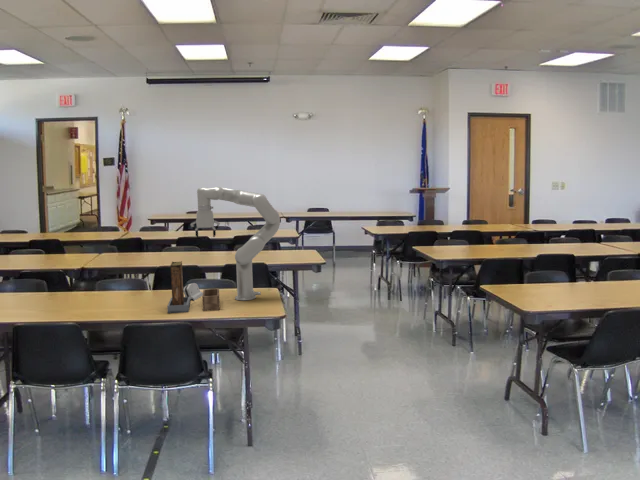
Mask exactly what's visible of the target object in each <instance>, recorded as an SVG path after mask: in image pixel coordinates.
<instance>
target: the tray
mask: <svg viewBox="0 0 640 480" xmlns="http://www.w3.org/2000/svg"><path fill="white" fill-rule="evenodd" d="M190 307H191V299H190V297H185V296H184V305H174V306H173V303H172V297H170V299H169V301H168V304H167V308H166V309H167V314H181V313H182V314H183V313H189V310H190Z"/></svg>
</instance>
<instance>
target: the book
mask: <svg viewBox="0 0 640 480" xmlns="http://www.w3.org/2000/svg"><path fill="white" fill-rule="evenodd" d="M170 282H171V298H172V303H173V306H174V305H184V297H185V295H184V292H183V289H184V277H183V261H182V260H181V261H171V263H170Z"/></svg>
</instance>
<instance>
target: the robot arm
mask: <svg viewBox="0 0 640 480" xmlns="http://www.w3.org/2000/svg"><path fill="white" fill-rule="evenodd" d="M196 192H197V193H196V194H197V211H196V219H195V220H194V221H192V222H191V223H190V227H191V228H192V229H193V230H194V231H195V237H196V238H197V239H199V231H198V230H199V229H205V228H206V229H208V228H211V229H212V236H213V238H215V237H216V235H217V232H216V230H217V229H218V228H219V226H220V224H221V223H220V222H219V221H217V220H214V218H215V217H214V212H213V210H214V206H212V203H211V201H212V200H213V201H219V200H220V201H225V202H231V203H234V204H236V205H240V206H245V207H252V208H255V209H256V210H257V212H258V214H260V216H261V217H262V218H263V219H264V221H265V224H264V225H263V226H262V227H261V228H260V229H259V230H258V231H257V232H256V233H255V234H253V235H252V236H251V237H250V238H249V239H248V241H246V242H245V243H244V244H242V246H241V247H239V248H238V249H237V250H236V252H235V255H234V260H235V261H236V262H235V264H236V266H235V267H236V268H235V269H236V288H237V289H236V291H237V294H236V295H235V298H234V299H235V300H236V301H251V300H252V301H253V300H255V299H256V298H257V297H256V296H261V295H262V293H261V291H255V290H254V281H253V279H254V278H253V259H254V258H255V257H256V256H257V255H258V254H260V253H261V252H262V251H263V250H264V248H265V245H266V244H267V243H268V242H269V241H270V240H271V239H272V238H273V237H274V236H275V235H276V234H277V232H278V231H279V228H280V227H281V226H280V225H281V218H280V213H279V212H278V211H277V210H276V209H275V208H274V207H273V205H272V204H271V203H270V201H269V200H268V198H267V197H266V195H264V194H262V193H259V192H258V193H257V192H252V191H246V190H240V189H232V188H226V187H220V186H216V187H199V188H197V191H196ZM212 209H213V210H212ZM195 224H196V227H195ZM214 225H216V226H214Z"/></svg>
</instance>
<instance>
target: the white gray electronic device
mask: <svg viewBox="0 0 640 480" xmlns="http://www.w3.org/2000/svg"><path fill="white" fill-rule="evenodd" d="M199 287H200V286H199V285H198V284H197V283H195V282H192V283H189V284H187V285H185V286H184V287H183V292H184V297H190V300H193V301H194V302H195V301H197V300H198V299H199V298H201V297H202V296H203V291H201V289H200V288H199Z"/></svg>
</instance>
